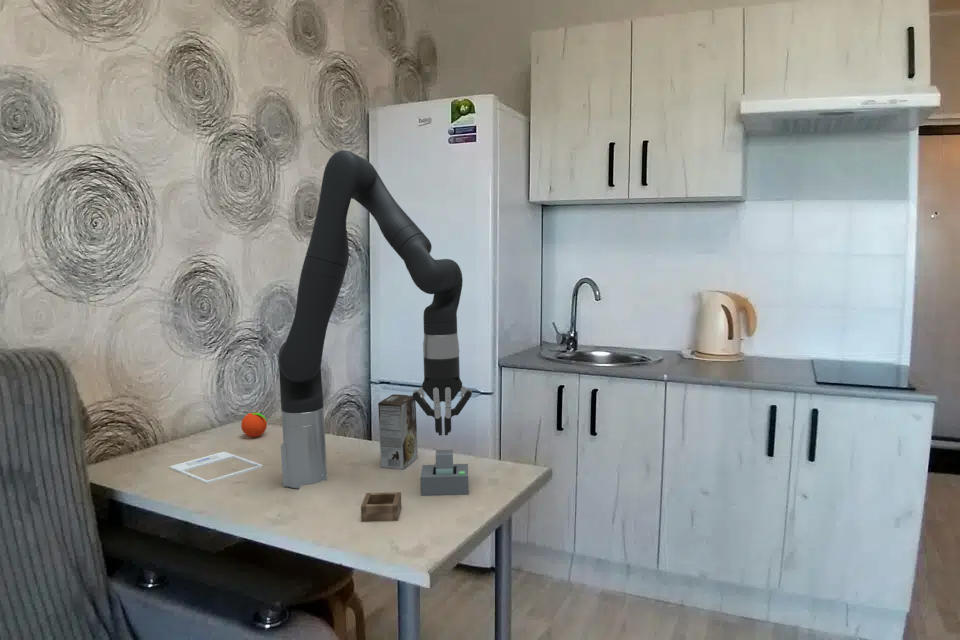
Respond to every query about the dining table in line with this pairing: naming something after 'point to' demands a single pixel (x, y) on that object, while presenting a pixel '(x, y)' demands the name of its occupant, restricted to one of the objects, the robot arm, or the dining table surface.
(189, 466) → the photo frame
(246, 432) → the clementine
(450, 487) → the port
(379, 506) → the wooden box
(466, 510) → the dining table surface
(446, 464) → the plug
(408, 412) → the coffee box
